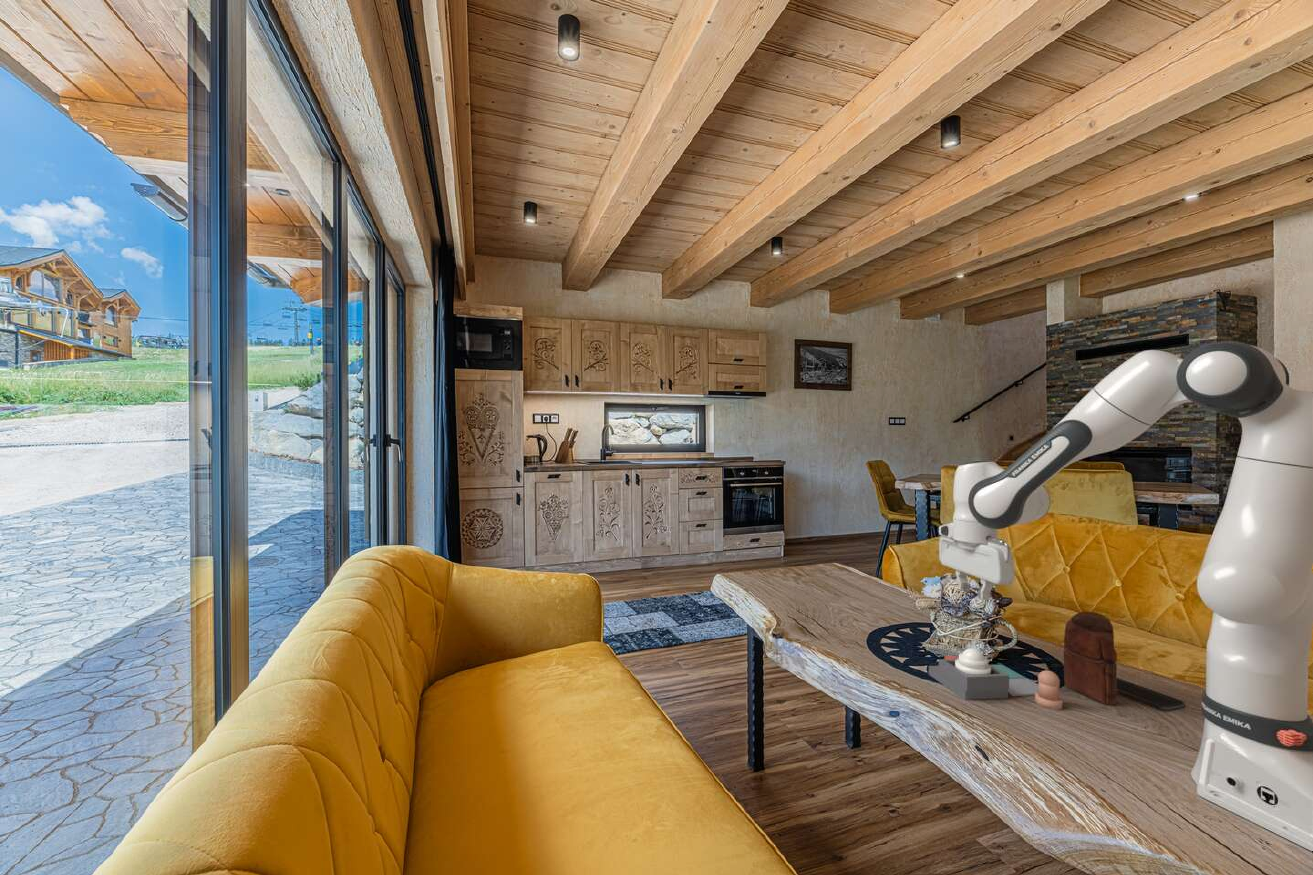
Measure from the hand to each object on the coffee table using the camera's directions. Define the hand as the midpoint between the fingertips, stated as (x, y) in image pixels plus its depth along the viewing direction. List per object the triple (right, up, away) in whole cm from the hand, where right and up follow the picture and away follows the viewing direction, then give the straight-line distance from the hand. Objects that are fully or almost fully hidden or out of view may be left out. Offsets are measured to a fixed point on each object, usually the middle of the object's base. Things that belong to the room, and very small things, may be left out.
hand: (974, 594), depth 125 cm
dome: (0, -17, 0) cm, 17 cm away
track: (+11, -21, +5) cm, 24 cm away
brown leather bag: (+25, -22, -1) cm, 33 cm away
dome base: (-1, -21, +2) cm, 21 cm away
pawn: (+12, -21, -7) cm, 25 cm away
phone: (+35, -22, -1) cm, 42 cm away
